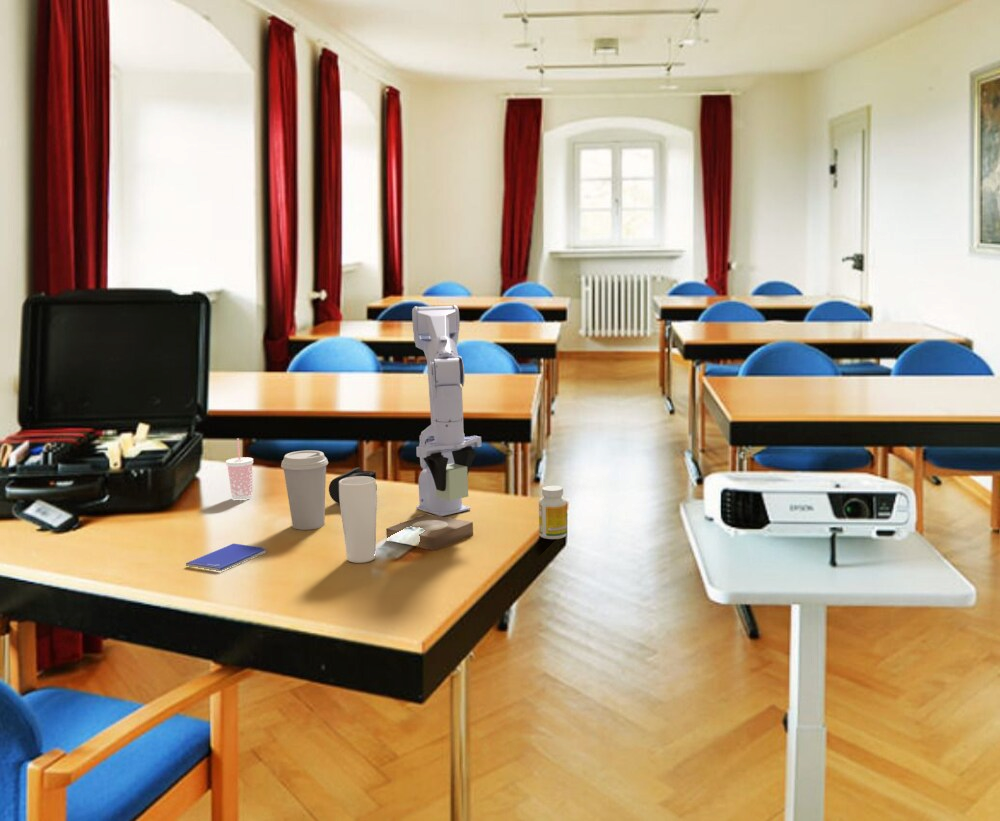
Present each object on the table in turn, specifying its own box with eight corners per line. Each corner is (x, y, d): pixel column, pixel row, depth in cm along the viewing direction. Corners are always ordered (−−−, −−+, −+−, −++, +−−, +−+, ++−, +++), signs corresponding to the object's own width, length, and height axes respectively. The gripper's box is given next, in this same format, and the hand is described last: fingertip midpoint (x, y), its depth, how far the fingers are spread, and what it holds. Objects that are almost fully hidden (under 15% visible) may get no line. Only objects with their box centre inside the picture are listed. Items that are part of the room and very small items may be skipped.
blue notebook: (219, 567, 182) (265, 547, 193) (185, 562, 186) (232, 542, 197) (220, 576, 182) (265, 555, 193) (186, 570, 186) (232, 550, 197)
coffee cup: (300, 535, 204) (295, 461, 201) (276, 525, 211) (271, 455, 208) (340, 524, 210) (336, 453, 207) (316, 516, 217) (312, 447, 215)
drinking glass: (338, 557, 189) (334, 478, 187) (374, 551, 192) (369, 474, 189) (348, 567, 183) (343, 486, 180) (384, 561, 186) (380, 481, 183)
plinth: (386, 541, 198) (386, 528, 198) (426, 525, 208) (425, 513, 207) (434, 550, 191) (434, 537, 191) (473, 534, 201) (472, 521, 200)
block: (436, 496, 200) (434, 467, 199) (454, 492, 203) (453, 463, 202) (450, 500, 197) (448, 470, 196) (468, 496, 200) (467, 466, 199)
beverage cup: (244, 502, 230) (239, 442, 228) (223, 500, 233) (218, 440, 230) (261, 496, 236) (257, 436, 233) (240, 493, 238) (236, 435, 236)
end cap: (350, 495, 235) (348, 466, 233) (378, 496, 232) (376, 467, 231) (329, 506, 225) (327, 476, 224) (357, 508, 223) (356, 478, 222)
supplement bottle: (533, 536, 198) (532, 488, 197) (551, 530, 202) (550, 483, 201) (555, 541, 195) (554, 492, 193) (572, 534, 199) (571, 487, 197)
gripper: (430, 427, 190) (433, 498, 192) (490, 416, 199) (492, 484, 201) (408, 422, 195) (411, 491, 198) (467, 412, 204) (470, 478, 207)
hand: (451, 487), depth 200 cm, fingers closed on block, 4 cm apart
